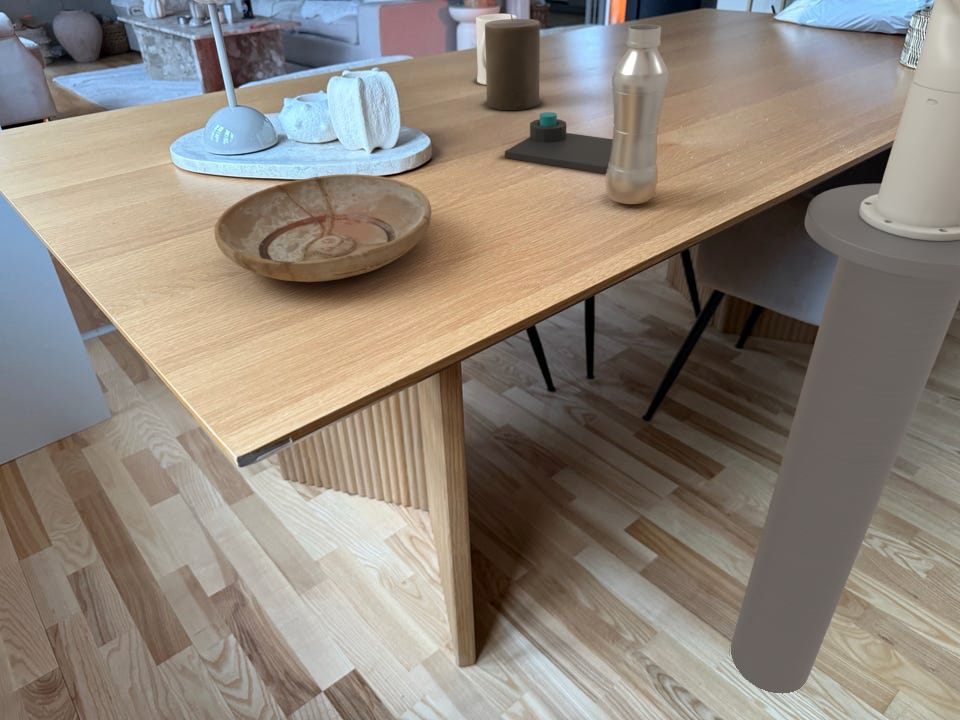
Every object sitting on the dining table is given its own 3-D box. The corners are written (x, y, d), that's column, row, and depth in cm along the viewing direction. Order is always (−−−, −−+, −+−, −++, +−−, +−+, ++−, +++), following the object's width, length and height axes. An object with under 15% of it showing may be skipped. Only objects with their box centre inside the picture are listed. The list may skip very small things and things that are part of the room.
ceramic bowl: (177, 275, 75) (164, 232, 73) (322, 200, 92) (316, 163, 89) (343, 326, 65) (335, 278, 62) (473, 232, 82) (471, 191, 79)
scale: (637, 149, 105) (639, 129, 103) (604, 174, 96) (606, 152, 95) (541, 135, 112) (541, 116, 110) (503, 157, 104) (503, 137, 102)
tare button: (559, 124, 108) (559, 113, 107) (551, 129, 106) (552, 117, 105) (544, 122, 109) (544, 111, 108) (536, 127, 107) (536, 115, 106)
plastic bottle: (603, 210, 86) (615, 33, 75) (603, 190, 91) (614, 22, 80) (657, 211, 85) (677, 32, 74) (653, 190, 90) (672, 21, 79)
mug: (499, 91, 137) (497, 24, 130) (461, 87, 141) (458, 22, 134) (525, 77, 146) (525, 14, 139) (489, 74, 149) (487, 12, 142)
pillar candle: (516, 114, 123) (515, 20, 114) (475, 105, 129) (472, 16, 120) (550, 102, 129) (552, 12, 120) (510, 94, 134) (509, 8, 126)
